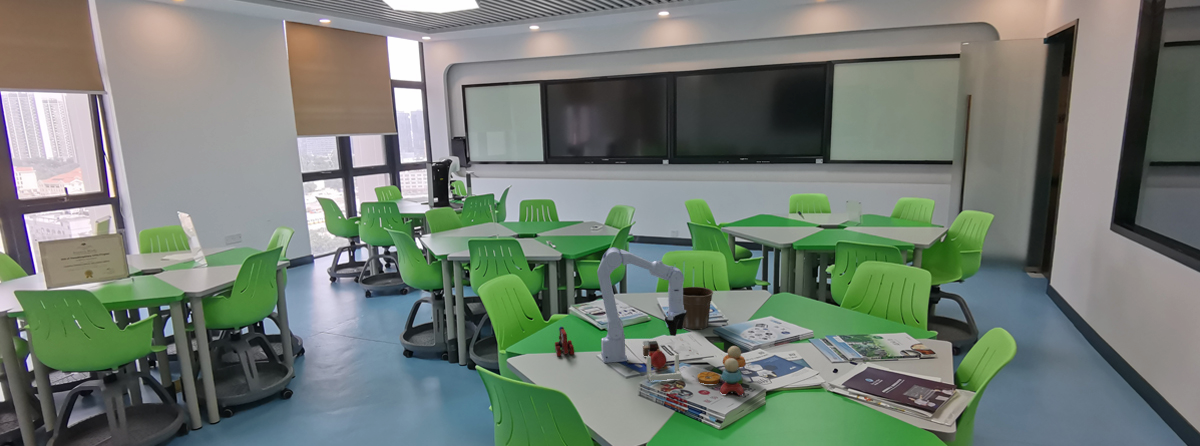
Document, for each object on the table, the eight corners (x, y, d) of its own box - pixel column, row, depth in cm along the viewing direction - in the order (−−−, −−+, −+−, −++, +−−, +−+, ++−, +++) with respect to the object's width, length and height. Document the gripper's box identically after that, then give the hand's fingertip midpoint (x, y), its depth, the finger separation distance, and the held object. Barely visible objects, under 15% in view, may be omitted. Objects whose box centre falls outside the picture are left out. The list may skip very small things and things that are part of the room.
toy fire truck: (570, 346, 249) (569, 323, 247) (575, 357, 237) (573, 332, 235) (554, 348, 248) (552, 324, 246) (557, 359, 236) (556, 334, 234)
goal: (649, 383, 210) (648, 361, 209) (646, 377, 215) (646, 356, 214) (682, 380, 211) (681, 358, 210) (678, 374, 216) (678, 353, 215)
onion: (650, 366, 224) (649, 346, 223) (664, 365, 225) (664, 345, 224) (652, 372, 219) (652, 352, 217) (668, 371, 219) (667, 351, 218)
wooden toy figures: (695, 376, 215) (695, 343, 213) (743, 375, 214) (743, 342, 212) (702, 398, 197) (701, 362, 195) (754, 397, 196) (754, 361, 194)
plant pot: (718, 322, 271) (718, 288, 269) (705, 333, 258) (704, 298, 255) (686, 318, 280) (685, 285, 277) (671, 328, 266) (670, 293, 264)
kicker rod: (650, 365, 226) (649, 347, 225) (640, 347, 245) (640, 331, 243) (662, 364, 226) (661, 346, 225) (651, 346, 245) (651, 330, 244)
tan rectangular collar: (644, 357, 233) (644, 348, 233) (643, 355, 236) (642, 345, 235) (659, 356, 234) (659, 346, 234) (658, 354, 237) (658, 344, 236)
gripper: (679, 305, 222) (680, 339, 224) (691, 295, 235) (691, 327, 237) (662, 303, 225) (662, 337, 227) (674, 293, 238) (674, 325, 240)
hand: (676, 332), depth 232 cm, fingers open, 7 cm apart
